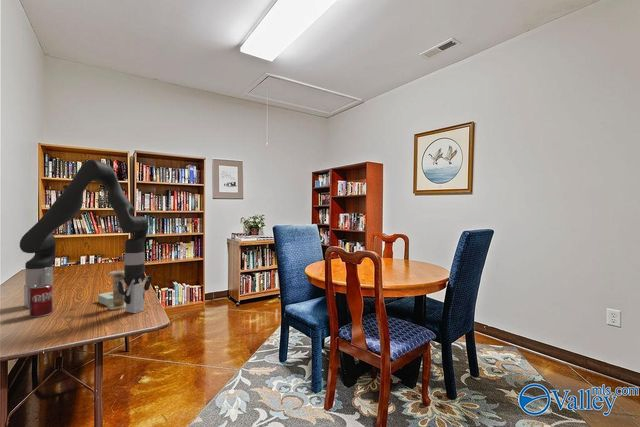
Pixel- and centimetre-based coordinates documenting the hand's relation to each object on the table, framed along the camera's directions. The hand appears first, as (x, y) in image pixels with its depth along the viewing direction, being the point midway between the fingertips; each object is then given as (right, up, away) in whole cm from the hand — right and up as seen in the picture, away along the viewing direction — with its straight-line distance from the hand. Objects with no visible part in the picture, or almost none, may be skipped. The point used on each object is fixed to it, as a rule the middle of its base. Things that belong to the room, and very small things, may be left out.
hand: (134, 302), depth 133 cm
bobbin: (-10, -4, +5) cm, 12 cm away
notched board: (-16, -4, +15) cm, 22 cm away
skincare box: (0, -4, 0) cm, 4 cm away
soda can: (-36, -4, -5) cm, 36 cm away
